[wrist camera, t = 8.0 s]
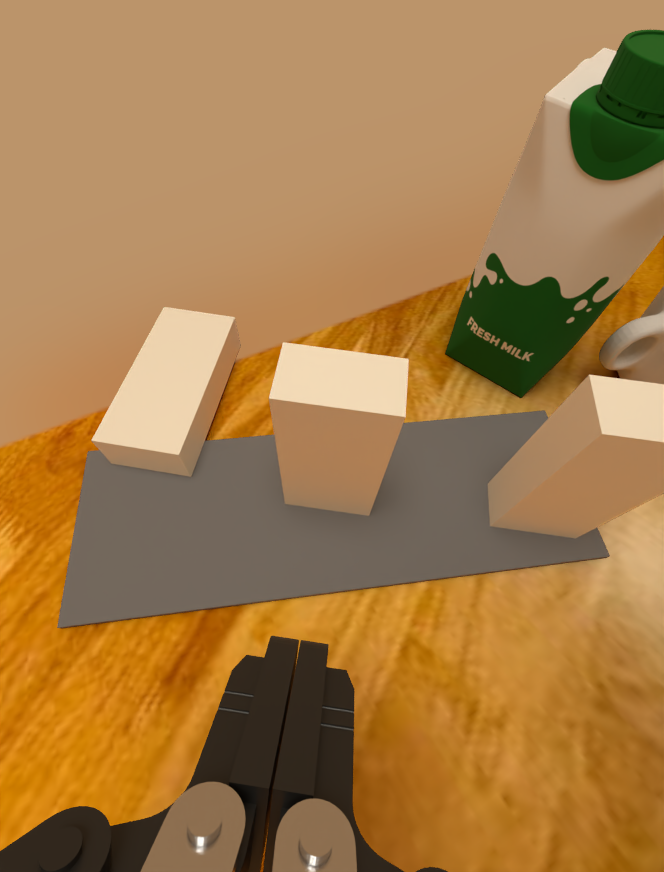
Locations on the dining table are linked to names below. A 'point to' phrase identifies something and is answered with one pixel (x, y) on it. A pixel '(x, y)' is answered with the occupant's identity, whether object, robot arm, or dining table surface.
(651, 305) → the cup
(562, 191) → the milk carton
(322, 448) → the tile
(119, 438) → the tile
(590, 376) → the tile
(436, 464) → the mat
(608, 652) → the dining table surface
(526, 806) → the dining table surface
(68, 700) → the dining table surface
